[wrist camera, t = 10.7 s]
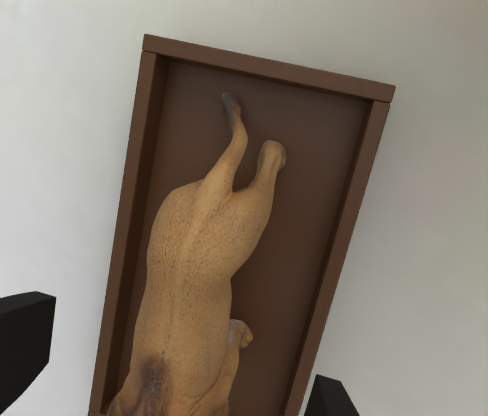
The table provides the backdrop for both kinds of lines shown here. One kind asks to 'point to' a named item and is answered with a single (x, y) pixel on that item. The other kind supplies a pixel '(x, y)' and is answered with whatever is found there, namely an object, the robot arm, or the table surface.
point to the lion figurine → (198, 286)
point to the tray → (285, 191)
